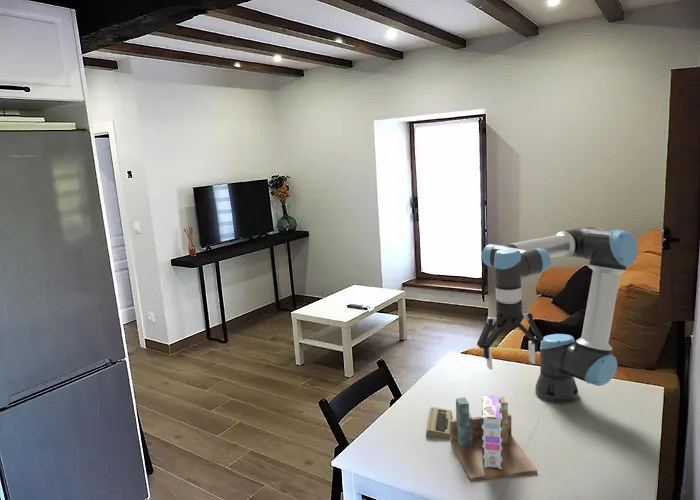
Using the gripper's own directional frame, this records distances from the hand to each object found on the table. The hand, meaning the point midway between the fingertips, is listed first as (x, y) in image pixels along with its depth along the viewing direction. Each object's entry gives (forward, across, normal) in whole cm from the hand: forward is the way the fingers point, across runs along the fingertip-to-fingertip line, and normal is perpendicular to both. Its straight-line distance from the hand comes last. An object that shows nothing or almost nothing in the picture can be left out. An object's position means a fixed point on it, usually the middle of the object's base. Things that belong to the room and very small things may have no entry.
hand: (510, 365), depth 156 cm
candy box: (+26, +10, +7) cm, 28 cm away
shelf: (+26, +10, +6) cm, 29 cm away
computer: (+27, +20, -15) cm, 37 cm away
